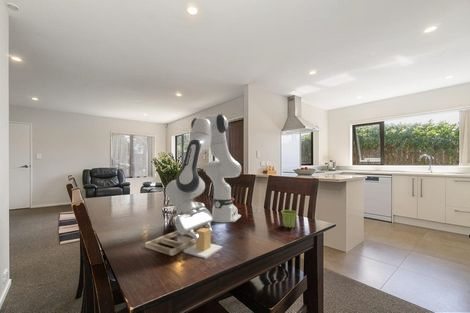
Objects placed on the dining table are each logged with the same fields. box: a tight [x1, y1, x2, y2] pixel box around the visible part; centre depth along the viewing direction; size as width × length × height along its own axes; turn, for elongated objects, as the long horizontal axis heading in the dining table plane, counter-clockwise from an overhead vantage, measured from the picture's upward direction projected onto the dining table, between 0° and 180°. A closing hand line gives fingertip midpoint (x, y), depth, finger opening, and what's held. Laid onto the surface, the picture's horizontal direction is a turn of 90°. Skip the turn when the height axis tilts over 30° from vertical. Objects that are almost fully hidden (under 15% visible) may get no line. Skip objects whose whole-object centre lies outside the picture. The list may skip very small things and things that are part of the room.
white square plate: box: [182, 243, 223, 260], centre depth 93 cm, size 12×12×1 cm
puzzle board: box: [144, 229, 196, 256], centre depth 101 cm, size 23×17×2 cm
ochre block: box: [195, 227, 212, 251], centre depth 93 cm, size 4×4×8 cm
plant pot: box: [280, 209, 298, 229], centre depth 127 cm, size 9×9×9 cm
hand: (204, 235), depth 93 cm, fingers open, 8 cm apart
